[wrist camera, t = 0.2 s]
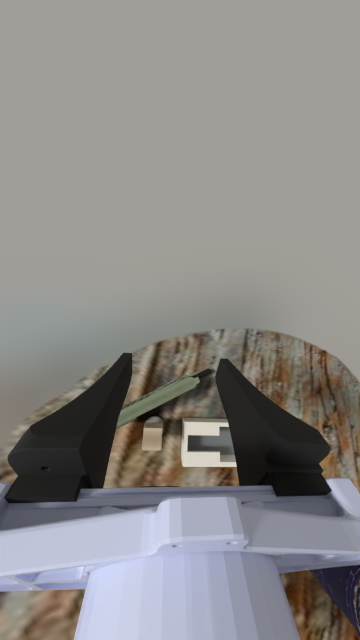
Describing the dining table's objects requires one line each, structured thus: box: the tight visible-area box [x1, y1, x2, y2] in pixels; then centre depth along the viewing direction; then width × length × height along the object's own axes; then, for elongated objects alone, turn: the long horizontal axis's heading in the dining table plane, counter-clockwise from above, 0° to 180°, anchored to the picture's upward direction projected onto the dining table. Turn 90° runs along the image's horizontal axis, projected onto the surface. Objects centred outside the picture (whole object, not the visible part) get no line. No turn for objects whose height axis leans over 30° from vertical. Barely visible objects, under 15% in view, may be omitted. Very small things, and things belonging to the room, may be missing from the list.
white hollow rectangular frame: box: [181, 417, 237, 467], centre depth 37 cm, size 16×8×4 cm, turn 87°
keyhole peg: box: [142, 416, 164, 450], centre depth 34 cm, size 4×4×8 cm
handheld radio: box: [116, 368, 211, 429], centre depth 38 cm, size 7×3×25 cm
